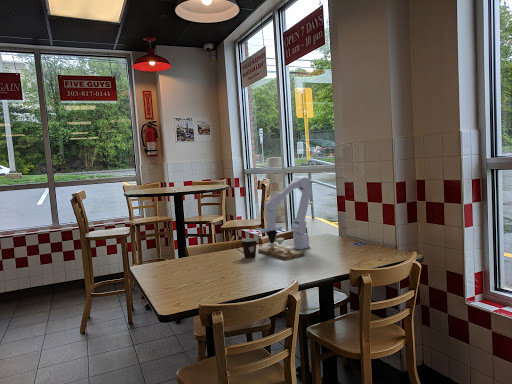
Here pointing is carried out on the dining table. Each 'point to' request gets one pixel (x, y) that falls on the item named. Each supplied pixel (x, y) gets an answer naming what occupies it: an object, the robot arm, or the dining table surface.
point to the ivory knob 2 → (288, 248)
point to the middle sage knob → (280, 240)
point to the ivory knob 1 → (272, 244)
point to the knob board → (280, 252)
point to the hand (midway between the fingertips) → (272, 243)
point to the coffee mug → (248, 247)
